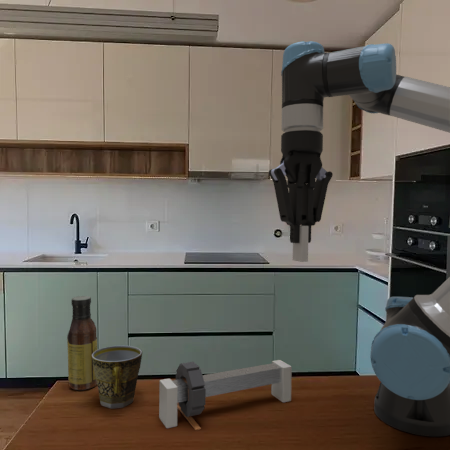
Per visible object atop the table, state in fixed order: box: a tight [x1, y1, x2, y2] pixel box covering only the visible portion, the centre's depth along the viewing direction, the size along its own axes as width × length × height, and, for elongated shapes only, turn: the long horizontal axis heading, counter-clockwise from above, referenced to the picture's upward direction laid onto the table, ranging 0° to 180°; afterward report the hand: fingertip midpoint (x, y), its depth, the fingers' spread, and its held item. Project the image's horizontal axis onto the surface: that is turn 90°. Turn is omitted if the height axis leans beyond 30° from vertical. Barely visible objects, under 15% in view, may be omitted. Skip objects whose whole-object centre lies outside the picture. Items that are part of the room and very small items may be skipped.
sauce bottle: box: [66, 295, 98, 391], centre depth 94 cm, size 7×6×20 cm
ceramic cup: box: [92, 344, 143, 410], centre depth 86 cm, size 13×10×10 cm
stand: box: [158, 359, 293, 431], centre depth 85 cm, size 27×10×7 cm, turn 116°
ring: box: [175, 361, 207, 417], centre depth 81 cm, size 2×9×9 cm, turn 26°
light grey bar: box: [171, 362, 282, 404], centre depth 85 cm, size 25×3×3 cm, turn 116°
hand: (300, 260), depth 79 cm, fingers closed
